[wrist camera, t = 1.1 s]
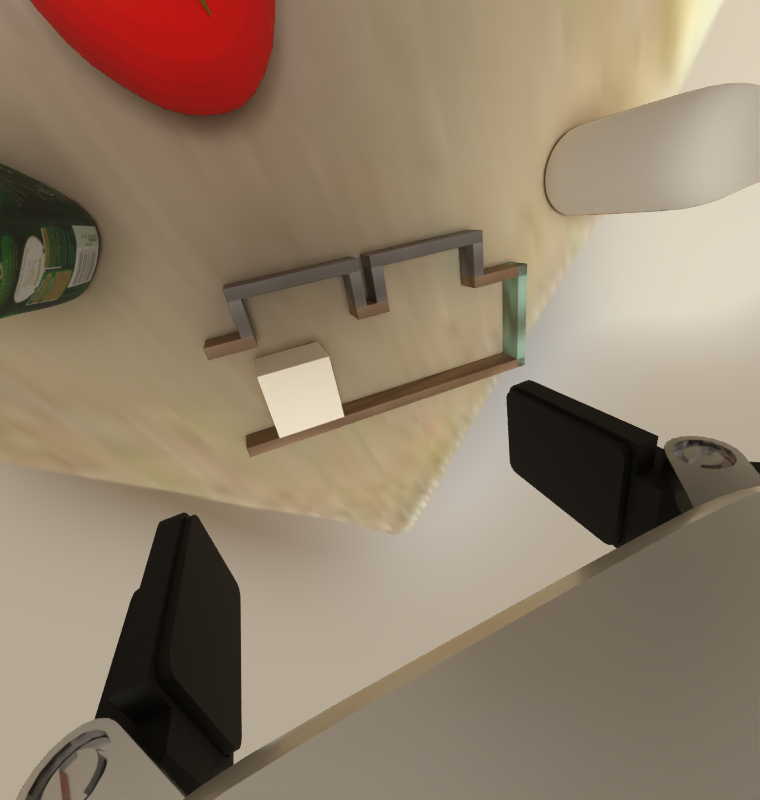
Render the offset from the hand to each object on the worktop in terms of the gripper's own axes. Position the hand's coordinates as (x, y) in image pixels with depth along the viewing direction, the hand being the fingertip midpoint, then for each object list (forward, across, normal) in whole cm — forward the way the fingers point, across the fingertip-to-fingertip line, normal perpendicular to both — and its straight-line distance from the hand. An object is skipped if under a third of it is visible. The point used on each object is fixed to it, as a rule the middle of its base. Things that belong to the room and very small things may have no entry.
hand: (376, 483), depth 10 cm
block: (+26, 0, +5) cm, 26 cm away
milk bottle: (+25, -32, -7) cm, 41 cm away
